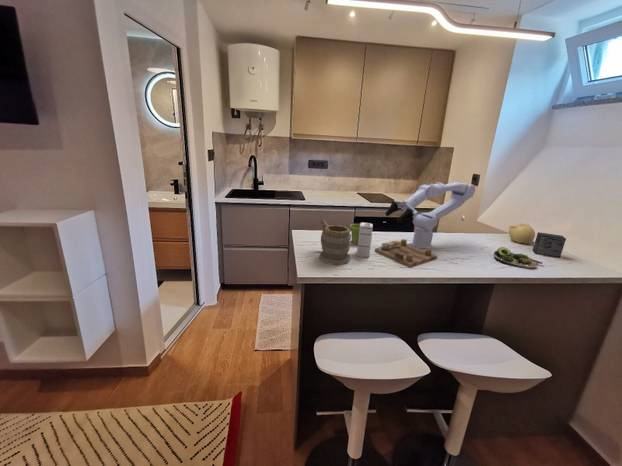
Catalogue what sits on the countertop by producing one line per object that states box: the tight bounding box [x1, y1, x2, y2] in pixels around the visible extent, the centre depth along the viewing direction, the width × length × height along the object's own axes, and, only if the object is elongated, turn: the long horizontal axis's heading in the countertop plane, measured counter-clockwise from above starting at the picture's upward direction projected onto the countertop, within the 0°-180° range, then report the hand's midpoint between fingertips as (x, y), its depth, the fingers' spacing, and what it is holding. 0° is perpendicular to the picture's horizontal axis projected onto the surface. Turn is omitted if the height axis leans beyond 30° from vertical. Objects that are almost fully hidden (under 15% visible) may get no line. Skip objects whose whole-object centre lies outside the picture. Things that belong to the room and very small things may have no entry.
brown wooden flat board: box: [374, 238, 438, 268], centre depth 135 cm, size 20×20×4 cm
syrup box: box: [356, 222, 374, 258], centre depth 131 cm, size 6×6×14 cm
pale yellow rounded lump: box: [508, 222, 536, 245], centre depth 165 cm, size 11×12×11 cm
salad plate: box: [493, 246, 543, 269], centre depth 136 cm, size 19×18×5 cm
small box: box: [531, 232, 567, 259], centre depth 147 cm, size 11×6×10 cm, turn 65°
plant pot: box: [349, 223, 360, 245], centre depth 147 cm, size 9×9×9 cm
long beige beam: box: [381, 239, 401, 250], centre depth 139 cm, size 12×3×2 cm, turn 125°
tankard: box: [319, 218, 352, 266], centre depth 127 cm, size 20×13×15 cm, turn 27°
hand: (391, 217), depth 136 cm, fingers open, 7 cm apart
